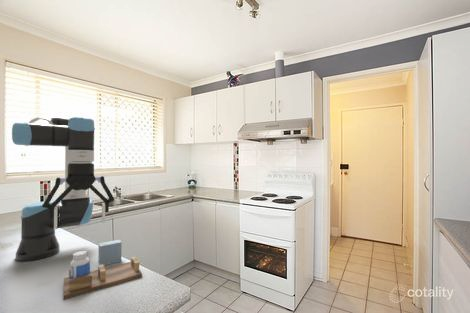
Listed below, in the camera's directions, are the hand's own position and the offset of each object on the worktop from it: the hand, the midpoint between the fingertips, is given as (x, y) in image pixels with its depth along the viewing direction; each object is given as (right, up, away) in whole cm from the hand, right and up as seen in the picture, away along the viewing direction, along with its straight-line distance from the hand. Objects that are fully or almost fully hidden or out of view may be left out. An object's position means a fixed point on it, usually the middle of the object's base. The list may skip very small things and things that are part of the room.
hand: (80, 224), depth 79 cm
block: (0, -21, +18) cm, 27 cm away
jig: (+6, -21, +4) cm, 22 cm away
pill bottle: (0, -20, 0) cm, 20 cm away
